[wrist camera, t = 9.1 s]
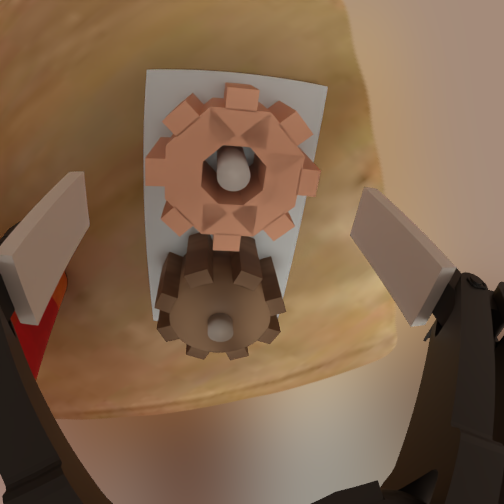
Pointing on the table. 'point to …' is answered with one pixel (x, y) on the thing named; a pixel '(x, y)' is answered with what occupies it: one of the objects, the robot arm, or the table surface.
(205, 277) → the gear
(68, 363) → the table surface
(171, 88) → the gear board
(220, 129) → the gear
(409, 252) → the robot arm
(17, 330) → the paper cup
